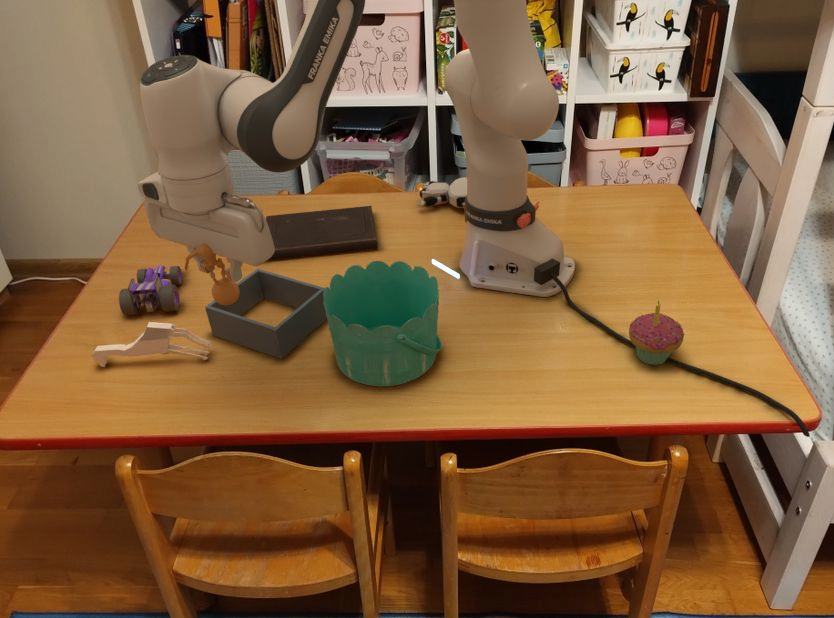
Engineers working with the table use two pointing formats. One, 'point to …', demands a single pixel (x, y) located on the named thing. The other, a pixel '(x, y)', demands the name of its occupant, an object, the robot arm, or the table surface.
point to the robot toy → (444, 193)
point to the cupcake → (655, 336)
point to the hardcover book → (322, 232)
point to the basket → (383, 322)
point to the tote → (262, 336)
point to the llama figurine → (152, 344)
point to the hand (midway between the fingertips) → (221, 274)
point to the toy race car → (152, 291)
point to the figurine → (223, 288)
